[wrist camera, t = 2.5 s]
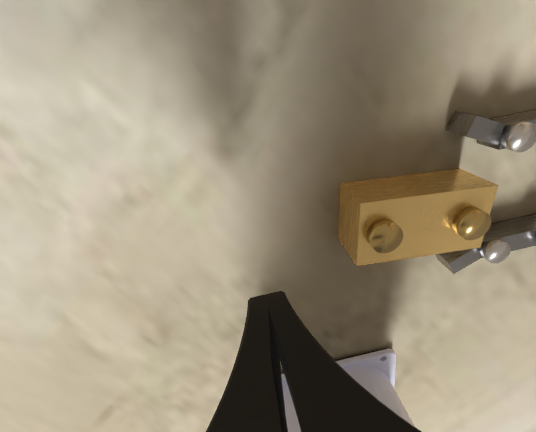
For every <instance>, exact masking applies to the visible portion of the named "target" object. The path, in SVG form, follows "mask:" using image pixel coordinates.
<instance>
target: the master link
mask: <svg viewBox="0 0 536 432" xmlns="http://www.w3.org/2000/svg"><path fill="white" fill-rule="evenodd" d="M497 187H498V185H496V184H494V183H492V182H489V181H487V180H485V179H482V178H480V177H478V176H475V175H473V174H471V173H468V172H466V171H464V170H461V169H459V168H458V169H450V170H442V171H434V172H426V173H418V174H410V175H402V176H394V177H386V178H378V179H370V180H362V181H354V182H346V183H340V200H339V232H338V240H339V241H340V242H341V244H342V245H343V247H344V248H345V250H346V251H347V253H348V254H349V256H350V257H351V259H352V260H353V262H354V263H355V265H356V266H361V265H367V264H374V263H381V262H387V261H394V260H400V259H407V258H414V257H420V256H427V255H433V254H440V253H447V252H453V251H460V250H466V249H473V248H480V247H481V244H482V241H483V237H484V234H485V233H486V232H487V231H488V229H489V228H490V226H491V216H490V212H491V209H492V205H493V202H494V198H495V194H496V191H497Z"/></svg>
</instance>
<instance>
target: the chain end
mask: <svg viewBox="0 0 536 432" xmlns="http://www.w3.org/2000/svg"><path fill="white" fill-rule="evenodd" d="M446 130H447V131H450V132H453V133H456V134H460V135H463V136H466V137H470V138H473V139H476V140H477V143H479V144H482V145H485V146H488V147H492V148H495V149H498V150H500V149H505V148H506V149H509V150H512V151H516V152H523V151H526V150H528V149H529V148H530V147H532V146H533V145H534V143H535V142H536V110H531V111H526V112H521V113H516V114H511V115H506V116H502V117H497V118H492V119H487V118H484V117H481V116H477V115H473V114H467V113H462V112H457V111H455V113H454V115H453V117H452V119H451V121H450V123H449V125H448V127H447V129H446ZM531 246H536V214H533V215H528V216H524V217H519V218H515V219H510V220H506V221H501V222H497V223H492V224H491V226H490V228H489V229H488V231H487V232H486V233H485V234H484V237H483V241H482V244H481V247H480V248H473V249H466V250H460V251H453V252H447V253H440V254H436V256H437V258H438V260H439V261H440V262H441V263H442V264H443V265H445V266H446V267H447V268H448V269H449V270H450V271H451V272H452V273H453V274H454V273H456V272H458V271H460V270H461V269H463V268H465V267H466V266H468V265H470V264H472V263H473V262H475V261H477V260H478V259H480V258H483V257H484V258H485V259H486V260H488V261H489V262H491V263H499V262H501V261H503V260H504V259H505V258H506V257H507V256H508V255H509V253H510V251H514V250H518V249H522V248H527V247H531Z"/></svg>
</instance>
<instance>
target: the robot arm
mask: <svg viewBox="0 0 536 432" xmlns="http://www.w3.org/2000/svg"><path fill="white" fill-rule="evenodd" d="M279 358H280V359H279ZM280 361H281V365H282V368H283V371H284V374H281V368H280ZM395 365H396V354H395V352H394V350H393V349H385V350H380V351H376V352H372V353H368V354H364V355H360V356H355V357H351V358H347V359H343V360H339V361H335V360H334V359H333V358H332V357H331V356H330V355H329V354H328V353H327V352H326V351H325V350H324V349H323V347H322V346H321V345H320V344H319V343H318V342H317V340H316V339H315V338H314V337H313V336H312V334H311V333H310V332H309V331H308V329H307V328H306V327H305V325H304V324H303V323H302V321H301V320H300V319H299V317H298V316H297V314H296V313H295V311H294V310H293V308H292V306H291V305H290V303H289V301H288V299H287V297H286V295H285V293H284V292H282V291H279V292H275V293H270V294H266V295H261V296H257V297H253V298H250V299H249V300H248V310H247V317H246V322H245V328H244V332H243V336H242V340H241V344H240V348H239V351H238V354H237V357H236V361H235V364H234V367H233V370H232V373H231V376H230V378H229V381H228V384H227V386H226V389H225V391H224V394H223V396H222V398H221V401H220V403H219V405H218V407H217V410H216V412H215V414H214V416H213V418H212V420H211V422H210V425H209V427H208V429H207V431H206V432H421V431H420V430H418V429H417V428H415V426H414V424H413V423H412V421H411V419H410V417H409V415H408V413H407V411H406V410H405V408H404V406H403V404H402V402H401V400H400V398H399V397H398V395H397V393H396V391H395V389H394V388H395Z"/></svg>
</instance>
